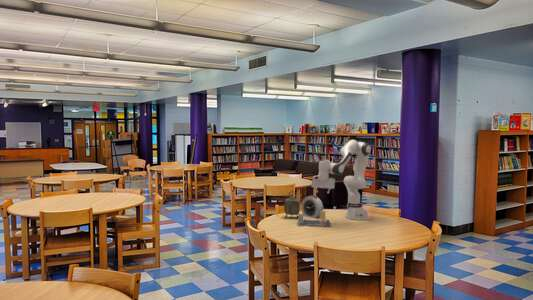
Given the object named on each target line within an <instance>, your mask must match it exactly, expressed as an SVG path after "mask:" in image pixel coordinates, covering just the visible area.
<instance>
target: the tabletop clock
mask: <svg viewBox="0 0 533 300" xmlns="http://www.w3.org/2000/svg"><path fill="white" fill-rule="evenodd" d="M290 193H291V194H290ZM293 193H294V194H293ZM288 195H289V197H288V198H285V200H284V203H283V204H284V205H283V211H284V214H285V217H286V218H287V217H288V215H290V219H293V216H296V218H299V214H300V212H301V211H300V210H301V209H300V208H301V203H300V199H299V198H296V197H295V196H296V195H297V192H296V191H295V190H294V191H293V190H290V191H289V192H288Z"/></svg>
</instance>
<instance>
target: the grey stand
mask: <svg viewBox="0 0 533 300" xmlns="http://www.w3.org/2000/svg"><path fill="white" fill-rule="evenodd" d="M304 219H305V221H311V222H321V221H322V222H326V221H327V220H328V219H327V218H326V210H323V211H320V217H318V219H311V220H307V219H306V218H304Z"/></svg>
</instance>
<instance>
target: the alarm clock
mask: <svg viewBox="0 0 533 300" xmlns="http://www.w3.org/2000/svg"><path fill="white" fill-rule="evenodd" d="M300 208H301V209H300V210H301V214H303V217H304V216H306V217H309V218H313V219H317V218H320V211H324V205H323V202H322V200H321V199H320V198H319V197H318V196H316V195H307V196H306V197H305V198H303V200H302V202H301V203H300Z"/></svg>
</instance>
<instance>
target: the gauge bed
mask: <svg viewBox="0 0 533 300" xmlns="http://www.w3.org/2000/svg"><path fill="white" fill-rule="evenodd" d="M297 219H298V226H299V227H320V228H321V227H322V228H324V227H325V228H332V222H331V220H330V219H326V220H327V221H326V222H322V224H321V222H311V221H305V219H306V218H304V215H303V213H299V214H298V217H297ZM307 220H312V219H307Z"/></svg>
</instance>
